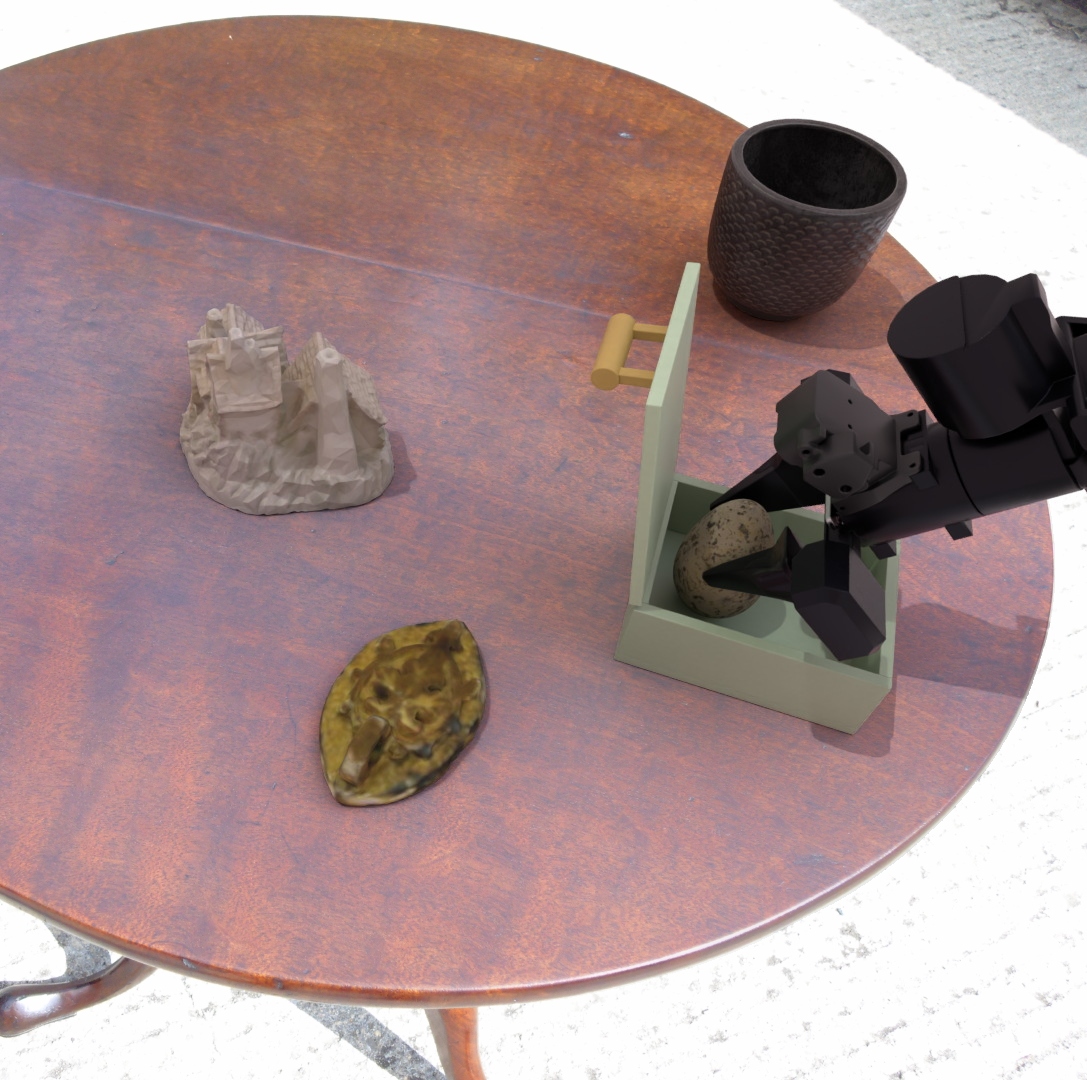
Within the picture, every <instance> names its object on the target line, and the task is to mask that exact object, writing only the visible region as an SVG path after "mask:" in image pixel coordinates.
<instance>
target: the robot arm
mask: <svg viewBox="0 0 1087 1080" xmlns="http://www.w3.org/2000/svg"><path fill="white" fill-rule="evenodd" d="M886 341H887V344H888V347H889V348H890V351H891V352H892V353H893V355H894V357H895V359H896V360H897V361H898V362H899V363H898V364H900V366H901V367H902V369H903V371H904V372H905V373H906V375H907V377H908V378H909V380H910V381H911V383H912V384H913V386H914V387H915V389H916V391H917V392H918V394H919V395H920V397H921V398H922V400H923V401H924V403H925V404H926V406H927V408H928V409H929V411H930V413H932V415H933V417H934V418H935V420H936V421H934V420H933V418H932V417H931V415H930V413H928V410H927V409H926V408H924V409H921V410H917V409H909V410H906V411H903V412H900V413H894V414H888V413H887V412H885V411H884V410H883V409H881V408H880V407H879V406H878V405H879V404H877V403H876V402H875V401H874V400H873V399H871V398H870V397H869V396H867V395H866V394H865V393H864V391H863V389H861V387H860V386H859V384H858V383H857V380H856V379H855V378H854V376H853V375H852V374H851V372H846V371H841V370H837V369H832V368H828V369H818V370H816V372H814V373H813V374H812V375H810V376H807V377H805V378H801V379H800V383H799V385H798V386H796V387H795V388H794V389H793V390H791V391H790V392H789V393H787V394H786V395H784V396H783V397H782V398H781V399H780V400H778V401H777V402H776V404H775V413H776V414H777V419H776V430H775V431H776V432H775V433H774V435H773V446H774V449H775V453H774V454H773V455H772V456H771V457H769V458H768V459H767V460H766V461H765V462H763V463H762V464H761V465H760V466H759V467H757V468H756V469H755V470H753V471H752V472H750V474H748V475H746V476H745V477H744V478H743V479H741V480H740V481H739V482H738V483H736V484H735V485H733V486H732V487H730V488H731V489H729V490H728V491H727V492H725V493H724V494H723V495H721V496H720V497H719V498H717V499H716V500H715V501H713V502H712V503H711V504H710V511H712V510H713V509H715V508H716V507H718V506H720V505H722V504H724V503H726V502H729V501H732V500H737V499H748V500H752V501H755V502H757V503H758V504H760V505H761V506H762V507H763V508H764V509H765V510H766V512H767V513H768V512H775V511H782V510H788V509H795V508H808V507H816V506H821V505H822V506H823V505H824V511H823V512H824V513H823V514H824V540H820V541H817V542H813V543H810V544H806V545H805V546H804V545H803V544H802V543H801V541H800V540H799V539H798V538H797V536H796V535H795V534H794V533H793V531H792V530H791V529H790V528H789V526H786V527H785V528H784V530H783V531H782V533H781V535H780V537H779V538H778V540H777V542H776V543H775V545H774V546H773V547H771V548H768V549H765V550H762V551H759V552H755V553H752V554H749V555H746V556H743V557H740V558H737V559H734V560H731V561H728V562H725V563H722V564H720V565H717V566H715V567H713V568H711V569H708V570H706V571H704V572H703V573H702V579H703V580H704V581H705V582H706V583H707V585H709V586H711V587H715V588H721V589H726V590H732V591H737V592H743V593H748V594H754V595H759V596H765V597H770V598H775V599H780V600H783V601H787V602H791V603H793V604H794V607H795V610H796V611H797V612H798V613H799V614H800V616H801V617H802V618H803V619H804V620H805V622H806V623H807V624H808V625H809V626H810V627H811V629H812V630H813V631H814V632H815V633H816V635H817V636H818V637H819V638H820V639H821V641H822V642H823V643H824V644H825V645H826V647H827V648H828V649H829V650H830V651H831V653H832V654H833V655H834V656H835V657H836V659H837V660H838V661H844V660H849V659H854V658H859V657H863V656H868V655H871V654H873V653H876V652H877V651H878V650H879V648H880V647H881V646H882V644H883V643H884V641H885V640H886V612H885V591H884V590H883V588H882V587H881V586H880V584H879V583H878V582H877V580H876V579H875V578H874V576H873V575H872V574H871V572H870V571H869V570H868V569H867V567H866V566H865V565H864V563H863V562H862V561H861V547H862V548H864V547H868V546H869V547H870V549H871V550H872V551H873V553H874V554H875V555H876V557H877V558H878V559H879V560H882V559H886V558H889V557H893V556H897V546H896V540H899V539H901V540H902V539H906V538H909V537H914V536H918V535H920V534H925V533H929V532H932V531H937V530H939V529H943V528H944V529H945V530H946V531H947V533H948V535H949V536H950V537H951V539H952V541H959V540H961V539H966V538H971V537H973V536H974V531H973V521H974V520H976V519H980V518H985V517H987V516H992V515H995V514H999V513H1003V512H1007V511H1010V510H1014V509H1017V508H1022V507H1026V506H1029V505H1032V504H1036V503H1040V502H1044V501H1047V500H1051V499H1055V498H1058V497H1062V496H1066V495H1069V494H1073V493H1077V492H1081V491H1085V493H1087V317H1085V316H1084V317H1083V316H1071V315H1059V316H1057V317H1055V316H1054V314H1053V312H1052V311H1051V309H1050V307H1049V303H1048V298H1047V292H1046V289H1045V287H1044V285H1043V283H1042V281H1041V279H1040V277H1039V276H1038V274H1037V273H1033V272H1028V273H1027V274H1024V275H1021V276H1019V277H1017V278H1014V279H1011V280H1009V281H1007V280H1005V279H1004V278H1002V277H1000V276H998V275H993V274H988V273H979V274H970V275H964V276H959V275H952V276H950V277H947V278H943V279H941V280H939V281H937V282H935V283H933V284H932V285H930V286H928V287H926V288H925V289H923V290H921V291H920V292H918V293H917V294H915V295H914V296H913V297H912V298H911V299H910V300H908V301H907V302H906V303H904V304H903V306H902V307H901V308H900V309H899V311H898V312H897V313H896V314H895V315H894V317H893V318H892V321H891V322H890V324H889V326H888V329H887V333H886ZM842 523H843V524H842Z"/></svg>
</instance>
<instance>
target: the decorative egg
mask: <svg viewBox="0 0 1087 1080" xmlns="http://www.w3.org/2000/svg"><path fill="white" fill-rule="evenodd" d="M774 545H775V539H774V530H773V526H772V522H771V520H770V517H769V515H768V513H767V512H766V510H765V509H764V508H763V507H762V506H761V505H760V504H758V503H757V502H755V501H752V500H748V499H737V500H732V501H729V502H726V503H724V504H722V505H720V506H718V507H716V508H715V509H713V510H712V511H710V512H709V513H708V514H706V515H705V516H704V517H703V518H702V519H701V520H700V521H699V522H698V523H697V524H696V525H695V526H694V527H693V528H692V529H691V530H690V531H689V533H688V534H687V535H686V537H685V538H684V540H683V542H682V543H681V545H680V547H679V549H678V552H677V554H676V557H675V560H674V566H673V580H674V585H675V588H676V591H677V593H678V595H679V597H680V599H681V600H682V601H683V603H684V604H685V605H686V606H687V607H688V608H689V609H691V610H692V611H693V612H695V613H697V614H699V615H701V616H704V617H708V618H714V619H723V618H729V617H733V616H736V615H738V614H740V613H742V612H744V611H746V610H747V609H749V608H750V607H751V606H752V605H753V604H754V603H755V602H756V601H757V600H758V599H759V597H760V596H759V595H754V594H748V593H743V592H737V591H732V590H726V589H721V588H715V587H711V586H709V585H707V583H706V582H705V581H704V580H703V579H702V573H703V572H704V571H706V570H708V569H711V568H713V567H715V566H717V565H720V564H722V563H725V562H728V561H731V560H734V559H737V558H740V557H743V556H746V555H749V554H752V553H755V552H759V551H762V550H765V549H768V548H771V547H773V546H774Z"/></svg>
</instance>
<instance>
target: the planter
mask: <svg viewBox="0 0 1087 1080" xmlns="http://www.w3.org/2000/svg"><path fill="white" fill-rule="evenodd" d="M907 189H908V177H907V173H906V171H905V169H904V166H903V165H902V163H901V162H900V161H899V160H898V158H897V157H896V156H895V155H894V154H893V153H892V152H891V151H890V150H889V149H888V148H887V147H885V146H884V145H882V144H881V143H879V142H878V141H876V140H875V139H873V138H871V137H869V136H867V135H865V134H863V133H861V132H859V131H857V130H854V129H851V128H849V127H845V126H843V125H839V124H836V123H833V122H827V121H822V120H816V119H810V118H809V119H808V118H780V119H779V118H778V119H772V120H768V121H763V122H761V123H758V124H755V125H752V126H751V127H749V128H747V129H745V130H744V131H743V132H742V133H740V134H739V136H738V137H737V138H736V139H735V140H734V142H733V144H732V146H731V148H730V150H729V154H728V156H727V160H726V163H725V166H724V169H723V173H722V177H721V180H720V183H719V186H718V191H717V194H716V198H715V202H714V206H713V210H712V215H711V218H710V223H709V228H708V229H709V230H708V235H707V243H706V245H707V246H706V250H707V251H706V252H707V253H706V255H707V256H706V257H707V262H708V268H709V270H710V272H711V275H712V277H713V279H714V280H715V282H716V284H717V285H718V286H719V288H720V289H721V290H722V292H723V293H724V296H725V297H726V299H727V300H728V301H729V302H730V303H731V304H732V305H733V306H734V307H735V308H737V309H738V310H740V311H741V312H742V313H745V314H746V315H749V316H751V317H754V318H758V319H761V320H766V321H773V322H785V321H786V322H787V321H792V320H797V319H798V318H801V317H803V316H808V315H812V314H816V313H818V312H821V311H822V310H825V309H828V307H831V306H832V305H834V304H835V303H836V302H838V301H839V300H841V298H843V297H844V296H845V295H846V293H847V292H848V291H850V289H851V288H852V287H853V286H854V284H855V283H856V282H857V281H858V279H859V278H860V277H861V275H862V274H863V272H864V271H865V269H866V267H867V266H868V264H869V262H870V261H871V260H872V258H873V256H874V254H875V253H876V251H877V249H878V247H879V246H880V244H881V242H882V240H883V239H884V237H885V235H886V233H887V232H888V229H889V228H890V226H891V224H892V222H893V220H894V219H895V216H896V214H897V213H898V211H899V209H900V207H901V205H902V203H903V201H904V199H905V197H906V194H907Z"/></svg>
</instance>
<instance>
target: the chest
mask: <svg viewBox="0 0 1087 1080" xmlns="http://www.w3.org/2000/svg"><path fill="white" fill-rule="evenodd" d="M731 488H732V487H729V486H726V485H722V484H719V483H715V482H712V481H708V480H704V479H701V478H698V477H693V476H690V475H687V474H683V473H680V472H676V471H675V474H674V478H673V482H672V486H671V490H670V494H669V498H668V502H667V506H666V510H665V514H664V518H663V522H662V526H661V530H660V534H659V538H658V542H657V546H656V550H655V554H654V558H653V562H652V566H651V571H650V575H649V579H648V583H647V587H646V591H645V595H644V599H643V603H642V606H637V605H631V604H629V600H628V601H627V605H626V609H625V613H624V617H623V620H622V625H621V628H620V631H619V636H618V640H617V644H616V647H615V652H614V655H613V660H615V661H617V662H621V663H624V664H627V665H631V666H633V667H637V668H640V669H643V670H646V671H649V672H653V673H656V674H659V675H662V676H666V677H668V678H671V679H675V680H677V681H681V682H684V683H688V684H690V685H694V686H698V687H700V688H703V689H706V690H710V691H713V692H716V693H719V694H722V695H726V696H729V697H732V698H735V699H738V700H741V701H744V702H747V703H751V704H754V705H757V706H760V707H764V708H767V709H769V710H773V711H776V712H778V713H783V714H786V715H789V716H792V717H795V718H798V719H802V720H804V721H807V722H810V723H813V724H817V725H821V726H823V727H827V728H830V729H832V730H835V731H838V732H843V733H845V734H849V735H852V736H855V734H856V733H857V732H858V731H859V730H860V728H861V727H862V725H863V724H864V723H865V722H867V720H868V718H870V716H871V715H872V714H873V712H874V711H875V710H876V709H877V707H878V706H880V704H881V702H882V701H883V700H884V699H885V698H886V696H887V695H888V694H889V693H890V691H891V690H892V687H893V677H894V676H893V675H894V662H895V661H894V660H895V646H896V645H895V644H896V630H897V629H896V628H897V612H898V596H899V595H898V594H899V581H900V580H899V579H900V564H901V549H902V548H901V547H902V539H899V540H896V546H897V556H893V557H889V558H886V559H882V560H879V559H878V558H877V557H876V555H875V554H874V553H873V551H872V550H871V549H870V547H869V546H868V547H864V548H862V547H861V561H862V562H863V563H864V565H865V566H866V567H867V569H868V570H869V571H870V572H871V574H872V575H873V576H874V578H875V579H876V580H877V582H878V583H879V584H880V586H881V587H882V588H883V590H884V591H885V612H886V640H885V641H884V643H883V644H882V646H881V647H880V648H879V650H878V651H877V652H876V653H873V654H871V655H868V656H863V657H859V658H854V659H849V660H844V661H838V660H837V659H836V657H835V656H834V655H833V654H832V653H831V651H830V650H829V649H828V648H827V647H826V645H825V644H824V643H823V642H822V641H821V639H820V638H819V637H818V636H817V635H816V633H815V632H814V631H813V630H812V629H811V627H810V626H809V625H808V624H807V623H806V622H805V620H804V619H803V618H802V617H801V616H800V614H799V613H798V612H797V611H796V610H795V607H794V604H793V603H791V602H787V601H783V600H780V599H775V598H770V597H765V596H760V597H759V599H758V600H757V601H756V602H755V603H754V604H753V605H752V606H751V607H750V608H749V609H747V610H746V611H744V612H742V613H740V614H738V615H736V616H733V617H729V618H723V619H714V618H708V617H704V616H701V615H699V614H697V613H695V612H693V611H692V610H691V609H689V608H688V607H687V606H686V605H685V604H684V603H683V601H682V600H681V599H680V597H679V595H678V593H677V591H676V588H675V585H674V580H673V566H674V560H675V557H676V554H677V552H678V549H679V547H680V545H681V543H682V542H683V540H684V538H685V537H686V535H687V534H688V533H689V531H690V530H691V529H692V528H693V527H694V526H695V525H696V524H697V523H698V522H699V521H700V520H701V519H702V518H703V517H704V516H705V515H706V514H708V513H709V512H710V504H711V503H712V502H713V501H715V500H716V499H717V498H719V497H720V496H721V495H723V494H724V493H725V492H727V491H728V490H729V489H731ZM768 515H769V517H770V520H771V522H772V526H773V530H774V539H775V543H776V542H777V540H778V538H779V537H780V535H781V533H782V531H783V530H784V528H785V527H786V526H789V528H790V529H791V530H792V531H793V533H794V534H795V535H796V536H797V538H798V539H799V540H800V541H801V543H802V544H803V545H804V546H805V545H806V544H810V543H813V542H817V541H820V540H824V513H822V512H819V511H815V510H812V509H807V508H806V507H801V508H795V509H788V510H782V511H775V512H768ZM842 524H843V523H842Z"/></svg>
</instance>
